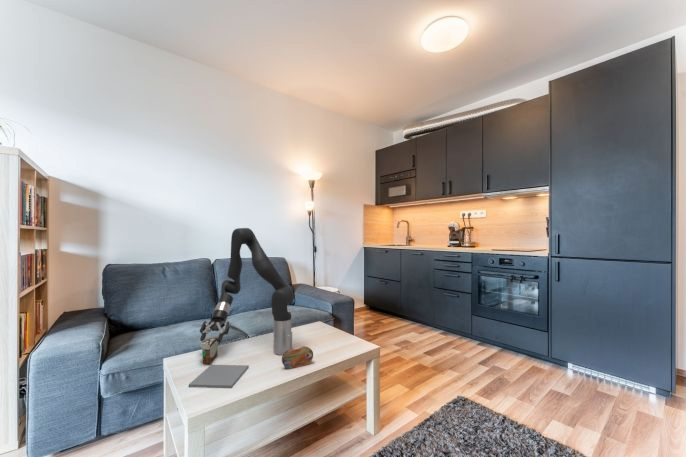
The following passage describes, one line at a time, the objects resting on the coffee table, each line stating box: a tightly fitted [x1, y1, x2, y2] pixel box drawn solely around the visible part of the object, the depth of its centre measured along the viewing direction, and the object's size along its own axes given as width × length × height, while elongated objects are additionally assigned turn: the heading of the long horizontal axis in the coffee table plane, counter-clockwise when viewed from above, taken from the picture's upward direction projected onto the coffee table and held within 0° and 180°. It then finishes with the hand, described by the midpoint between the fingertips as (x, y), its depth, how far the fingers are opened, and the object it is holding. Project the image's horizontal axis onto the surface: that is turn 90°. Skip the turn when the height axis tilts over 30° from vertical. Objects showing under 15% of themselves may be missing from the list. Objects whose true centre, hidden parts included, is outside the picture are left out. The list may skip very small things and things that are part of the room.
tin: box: [281, 345, 314, 370], centre depth 137 cm, size 15×3×8 cm, turn 117°
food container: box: [199, 335, 219, 366], centre depth 142 cm, size 12×6×10 cm, turn 5°
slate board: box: [188, 364, 249, 389], centre depth 126 cm, size 18×18×1 cm
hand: (210, 341), depth 145 cm, fingers open, 8 cm apart
